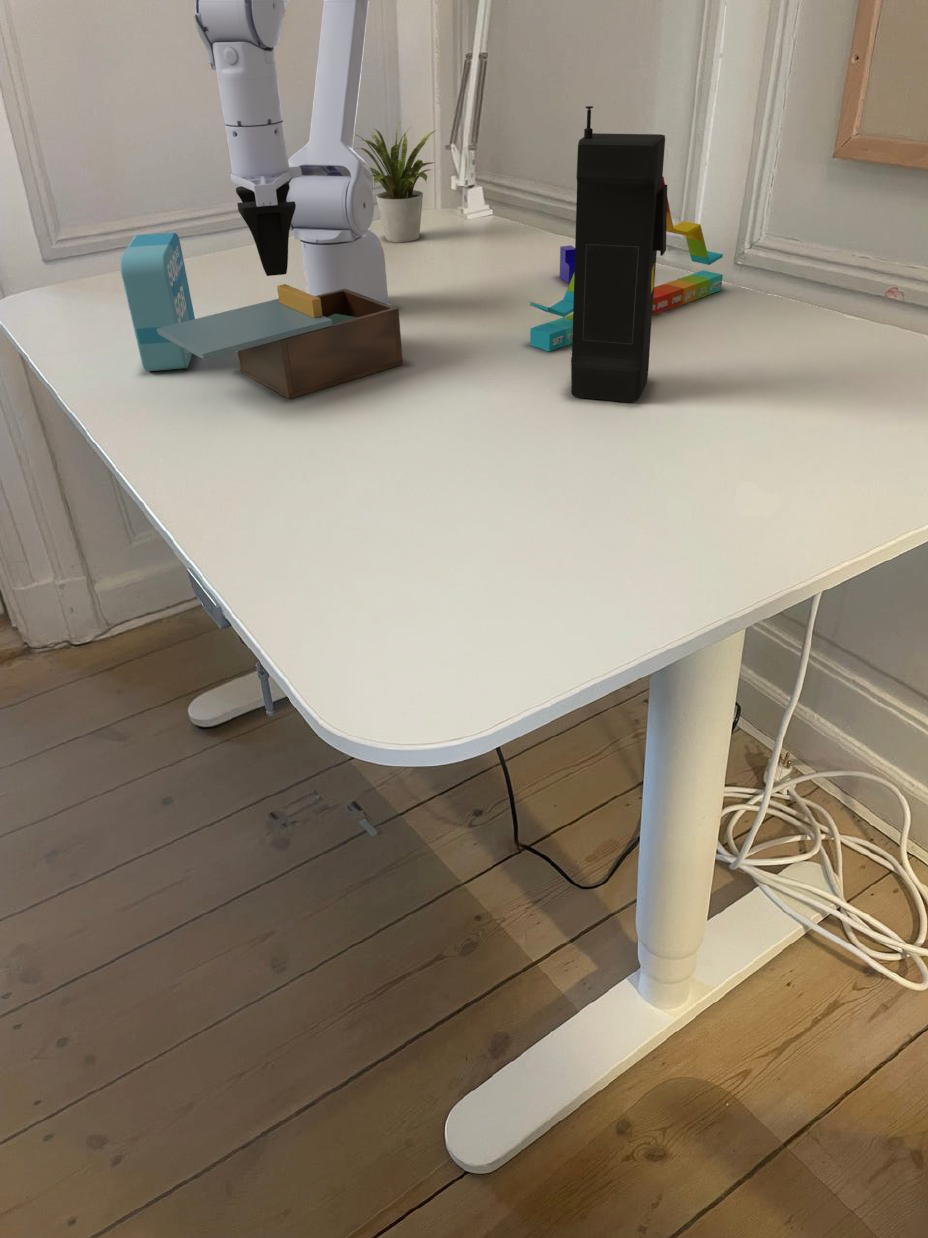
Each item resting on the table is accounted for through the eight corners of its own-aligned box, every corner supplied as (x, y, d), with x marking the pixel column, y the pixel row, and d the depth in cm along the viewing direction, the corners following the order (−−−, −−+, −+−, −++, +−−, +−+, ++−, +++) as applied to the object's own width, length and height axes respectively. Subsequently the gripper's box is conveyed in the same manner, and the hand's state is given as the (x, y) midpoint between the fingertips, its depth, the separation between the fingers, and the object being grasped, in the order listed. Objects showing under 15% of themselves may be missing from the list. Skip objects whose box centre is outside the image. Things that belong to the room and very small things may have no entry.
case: (350, 341, 110) (345, 288, 106) (403, 364, 103) (398, 308, 100) (240, 372, 103) (231, 316, 99) (289, 399, 96) (280, 340, 93)
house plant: (337, 249, 144) (324, 128, 134) (360, 227, 155) (349, 113, 146) (430, 250, 142) (424, 127, 132) (447, 227, 153) (442, 112, 143)
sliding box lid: (281, 303, 102) (278, 280, 101) (333, 325, 96) (330, 301, 94) (157, 334, 95) (152, 309, 94) (204, 360, 89) (199, 334, 87)
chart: (550, 351, 105) (553, 204, 96) (530, 345, 107) (530, 200, 98) (722, 290, 120) (737, 159, 112) (701, 285, 123) (715, 156, 114)
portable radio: (658, 382, 96) (682, 100, 82) (647, 404, 92) (670, 110, 78) (581, 375, 99) (591, 100, 84) (567, 397, 94) (575, 109, 80)
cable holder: (568, 284, 125) (569, 252, 123) (559, 277, 128) (560, 246, 125) (626, 278, 126) (628, 246, 124) (616, 271, 129) (617, 240, 127)
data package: (187, 372, 103) (163, 256, 96) (144, 375, 103) (117, 259, 96) (198, 336, 113) (177, 229, 106) (159, 339, 113) (136, 231, 106)
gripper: (300, 129, 89) (318, 279, 97) (289, 110, 101) (306, 244, 109) (223, 135, 88) (247, 286, 96) (221, 114, 100) (243, 250, 108)
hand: (274, 264), depth 102 cm, fingers open, 7 cm apart
